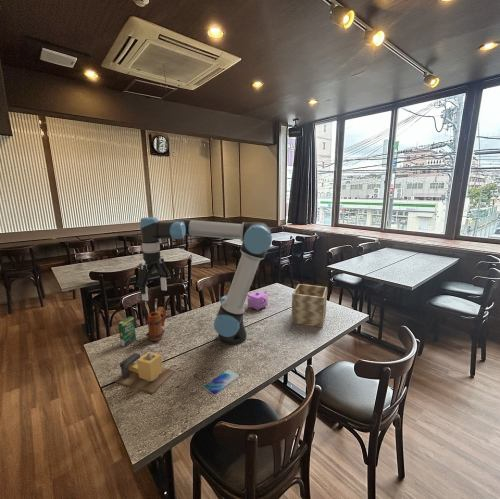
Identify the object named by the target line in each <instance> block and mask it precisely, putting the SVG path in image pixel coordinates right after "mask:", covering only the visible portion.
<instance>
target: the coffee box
mask: <svg viewBox="0 0 500 499" xmlns="http://www.w3.org/2000/svg"><path fill="white" fill-rule="evenodd" d="M117 325H118V332H119V341H120V347H123V348H125V347H128V346H129V345H130V344H131V343H133V342H135V341H136V340H137V336H136V327H135V317H134V316H130V315H129V316H128V317H125V319H123V320H122V321H120V322H118V324H117Z"/></svg>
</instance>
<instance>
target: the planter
mask: <svg viewBox="0 0 500 499" xmlns="http://www.w3.org/2000/svg"><path fill="white" fill-rule="evenodd" d="M295 287H296V288H295V289H294V291H293V292H292V295H291V322H290V323H292V324H298V325H304V326H309V325H311V327H315V326H318V327H317V328H321V327H322V328H324V327H323V326H324V324H325V323H324V322H325V318H326V315H327V299H328V298H327V296H328V287H327V286H320V285H313V284H312V285H311V284H303V283H298V284H297V286H295ZM325 314H326V315H325Z"/></svg>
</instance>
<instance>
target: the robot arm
mask: <svg viewBox="0 0 500 499" xmlns="http://www.w3.org/2000/svg"><path fill="white" fill-rule="evenodd" d="M139 221H140V222H139V223H140V228H139V229H140V236H141V245H142V247H141V248H142V251H143V253H142V260H144V264H140V265H139V273H138V277H137V281H136V288H140V295H141V300H142V301H146V302H148V301H149V293H148V286H147V285H148V281H149V279H150V277H151V274H153V272H155V271H156V272H157V273H158V274H159V275H160V276H161V277H160V289H161V291H167V290H168V287H167V283H168V282H167V278H169V275H170V272H169V270H168V268H167V265H166V263H165V259H164V258H161V251H160V250H161V246H160V240H162V239H163V240H164V239H172V240H178V239H184V238H185V236H197V237H208V238H221V239H230V240H231V239H232V240H240V241H241V242H242V243H241V245H240V249H239V250H240V252H241V253H240V254H241V257H240V258H239V262H238V264H237V267H236V270H235V273H234V276H233V279H232V282H231V284H230V287H229V290H228V292H227V294H226V295H224V296H222V297H220V301H219V302H220V306H219V308H218V311H217V315H216V317H215V318H214V322H213V328H214V330H215V332H216V333H217V334H218V336H217V338H218V341H219V342H221V343H222V344H224V345H231V346H232V345H239V344H241V343H244V342H245V341H246V340H247V330H246V328H245V325H244V313H245V312H246V310H245V307H244V304H245V302H246V299H247V298H248V295H249V291H250V288H251V285H252V283H253V282H254V277H255V274H256V272H257V271H258V270H257V269H258V268H259V264H260V262H261V260H264V259H265V258H266V255H267V253H268V250H269V249H270V247H271V245H272V241H273V236H272V232H271V230H272V229H270V227H269V226H268V225H267V224H266V223H265V222H259V221H258V222H257V221H256V222H247V221H246V222H245V221H243V222H242V223H233V222H221V221H210V220H209V221H208V220H207V221H206V220H196V219H195V220H193V219H186V218H177V219H176V220H172V221H159V219H158V217H156V216H155V217H153V216H150V217H149V216H148V217H141V218H140V220H139Z"/></svg>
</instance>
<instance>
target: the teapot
mask: <svg viewBox="0 0 500 499" xmlns="http://www.w3.org/2000/svg"><path fill="white" fill-rule="evenodd" d="M268 291H269V290H268V289H266V290H264V292H263V291H259V290H257V291H253V292H250V293H249V292H248V294H247V306H248V307H250V309H254V310H256V311H260V309H265V307H266V306H268V301H269V300H268V299H269V298H268V296H269V294H268V293H267V292H268Z"/></svg>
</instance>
